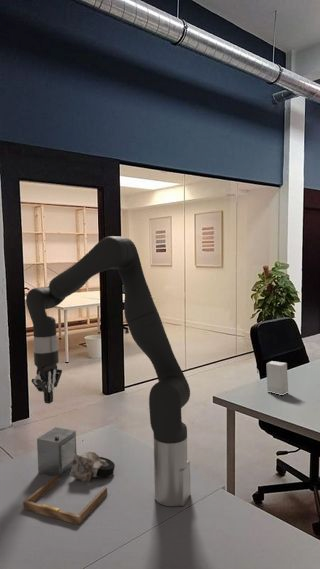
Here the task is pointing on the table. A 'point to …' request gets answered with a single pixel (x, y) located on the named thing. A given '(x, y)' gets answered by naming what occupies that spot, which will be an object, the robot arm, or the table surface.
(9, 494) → the table surface
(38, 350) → the robot arm
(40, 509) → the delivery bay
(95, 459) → the caster wheel
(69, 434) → the control box
